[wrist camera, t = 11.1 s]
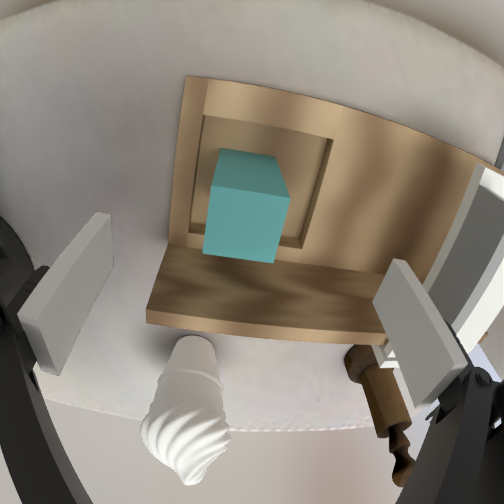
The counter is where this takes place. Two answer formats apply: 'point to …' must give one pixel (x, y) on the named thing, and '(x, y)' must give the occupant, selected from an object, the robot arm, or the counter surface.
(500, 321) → the milk bottle
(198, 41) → the counter surface
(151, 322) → the brown piece
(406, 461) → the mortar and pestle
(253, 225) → the block
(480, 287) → the lid
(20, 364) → the robot arm
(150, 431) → the soft serve ice cream cone
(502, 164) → the coaster
